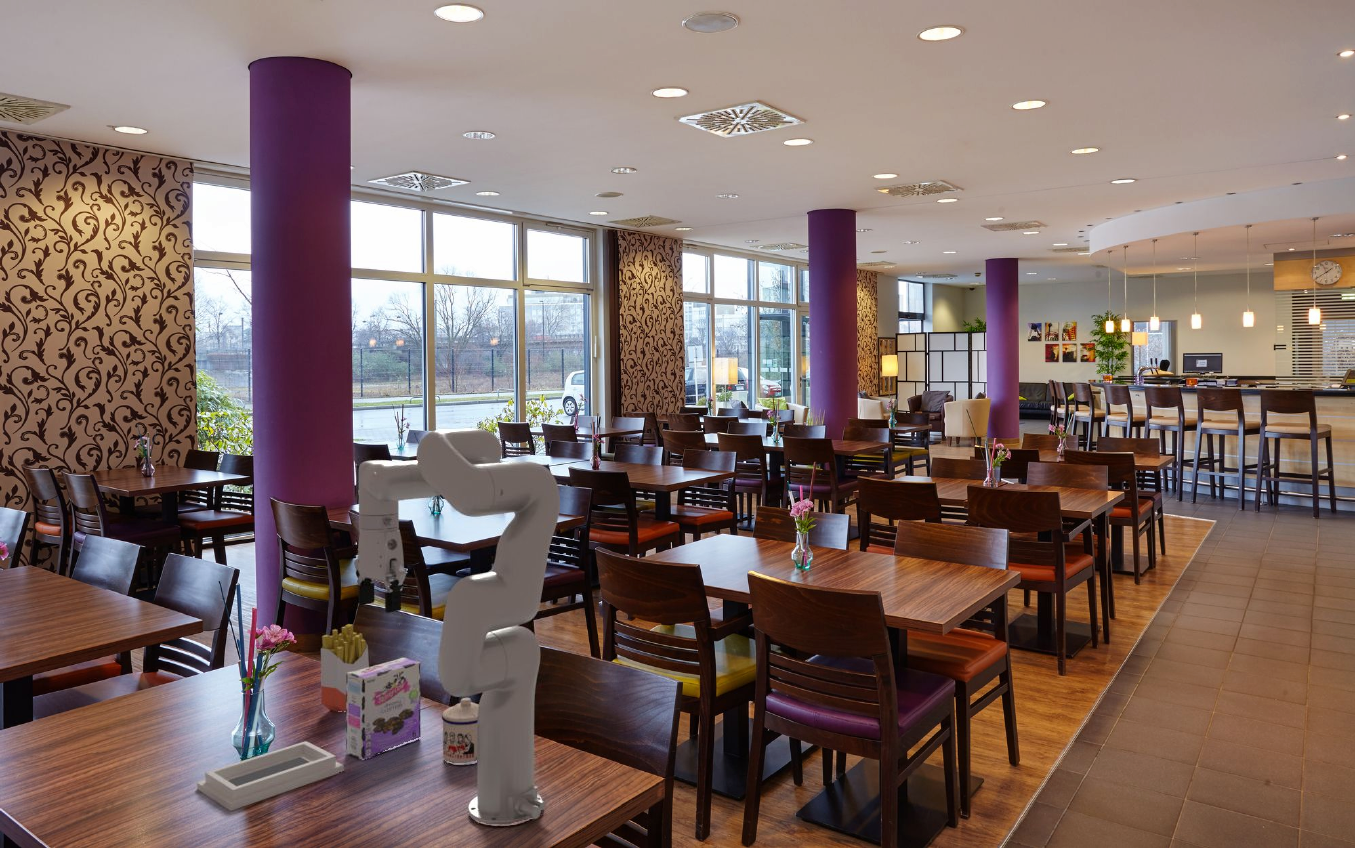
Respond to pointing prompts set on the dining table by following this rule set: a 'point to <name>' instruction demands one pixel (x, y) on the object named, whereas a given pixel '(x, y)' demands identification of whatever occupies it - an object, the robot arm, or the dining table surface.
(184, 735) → the dining table surface
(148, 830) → the dining table surface
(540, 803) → the robot arm
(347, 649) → the french fries container
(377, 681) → the candy box
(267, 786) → the grey rectangular tray
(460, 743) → the teacup with lid
